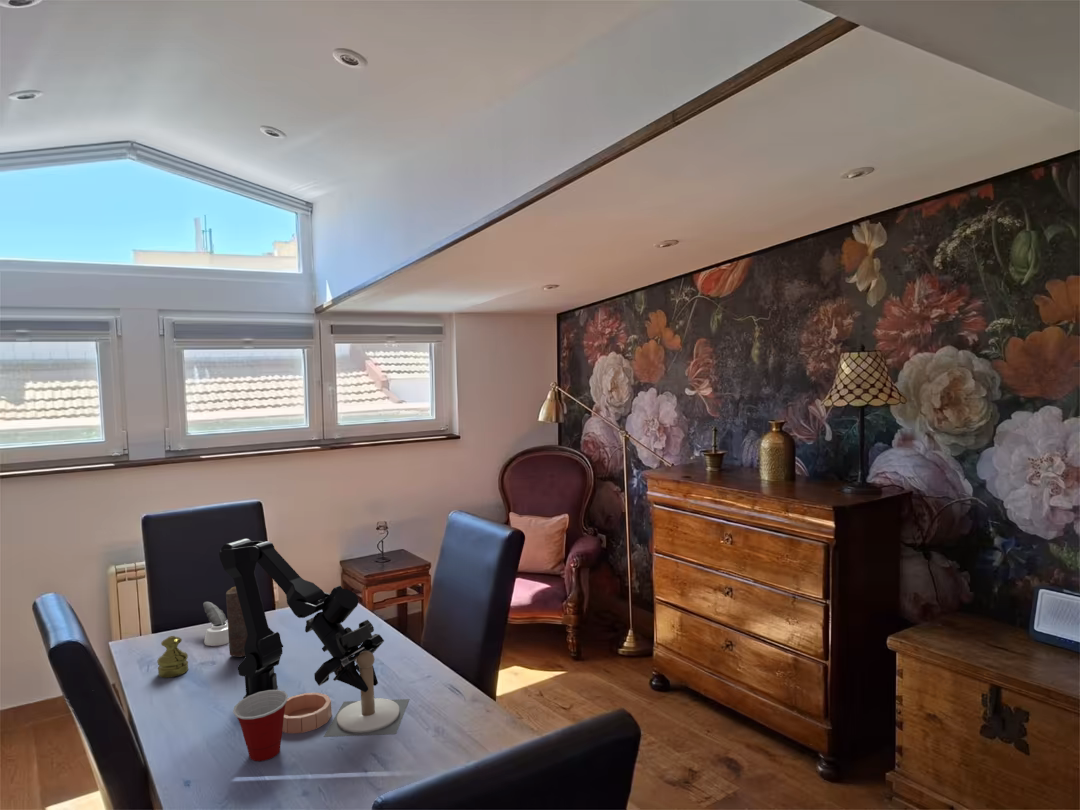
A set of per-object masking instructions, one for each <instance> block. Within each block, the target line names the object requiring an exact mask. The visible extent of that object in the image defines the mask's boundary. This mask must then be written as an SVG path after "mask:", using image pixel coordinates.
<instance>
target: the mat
mask: <svg viewBox="0 0 1080 810" xmlns="http://www.w3.org/2000/svg"><path fill="white" fill-rule="evenodd" d="M391 700H392V701H394V702H396V703H397V704H398V706H399V716H398V718H397V719H396V720H395V721H394V722H393V723H392V724H390V725H389V726H387V727H384V728H382V729H379V730H376V731H371V732H365V733H353V732H348V731H345V730H342V729H341V728H340V727H339V726H338V724H337V715H338V713H339V712H340V711H341V710H342V709H343V708H345V707H346V706H348V705H350V704H352V703H355V702H357V701H358V700H350V701H346V700H345V701H343V702H342V703H341V706H340V707H339V709H338V711H337V713H336V714H335V715H334V717H333V719H332V721H331V723H330V725H329V726H328V727H327V730H326V732H325V733H324V735H323V737H324V738H326V737H327V738H329V737H332V738H333V737H353V736H355V737H356V736H357V737H359V736H380V735H382V736H383V735H396V734H397V733H398V730H399V728H400V725H401V722H402V720H403V717H404V715H405V712H406V709H407V707H408V704H409V702H410V698H403V699H399V698H398V699H391Z"/></svg>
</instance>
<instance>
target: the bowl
mask: <svg viewBox="0 0 1080 810" xmlns="http://www.w3.org/2000/svg"><path fill="white" fill-rule="evenodd" d="M332 712H333V710H332V699H331V698H330V696H329V695H328V694H324V693H321V692H305V693H301V694H297V695H293V696H290V697H287V702H286V705H285V712H284V719H283V730H282V733H285V734H303V733H306V732H310V731H314V730H317V729H319V728H320V727H323V725H325V724H327V723H328V722H329V721H330V719H331V717H332V716H333V715H332V714H333V713H332Z"/></svg>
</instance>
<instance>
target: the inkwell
mask: <svg viewBox="0 0 1080 810" xmlns="http://www.w3.org/2000/svg"><path fill="white" fill-rule="evenodd" d="M202 605H203V606H202V607H203V609H204V612H205V613H206V618H208V620H207V621H208V622H210V623H211V626H209V627H208V628H207V629H206V632H205V635H204V640H203V644H204V645H206V646H208V647H218V646H224V645H226V644H227V645H228V644H229V635H228V618H227V617H226V614H225V613H224V611H223V610H222V609H220V608H219V606H217V605H216V604H214V603H213V602H210V601H204V602H203V604H202Z"/></svg>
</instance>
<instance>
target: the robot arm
mask: <svg viewBox="0 0 1080 810" xmlns="http://www.w3.org/2000/svg"><path fill="white" fill-rule="evenodd" d="M218 553H219V554H218V555H219V556H218V557H219V560H220V563H221V565H222V568H223V570H224V571H225V572H226V573H227V575H229V576H230V577H231V578H232V579H233V582H234V587H236V590H237V594H238V598H239V602H240V606H241V610H242V614H243V618H244V622H245V625H246V629H247V634H248V635H247V639H246V643H245V646H244V651H245V656H244V658H243V659H242V661H241V662H240V664H239V665H238V666H237V667H236V669H237V671H238V675H239V676H240V677H241V676H242V677H244V683H245V695H244V696H243V698H242V700H243V699H244V698H246V697H248V696H250V695H253V694H255V693H258V692H262V691H267V690H278V688H279V686H278V682H277V681H278V680H277V673H276V672H275V667H276V666H279V665H280V660H281V657H282V655H283V648H284V645H283V643H282V640H281V634H280V633H279V631H276V632H275V631H273V630H272V629H271V628H270V627H269V624H268V619H267V616H266V612H265V609H264V604H263V601H262V597H261V594H260V589H259V585H258V582H257V576H256V567H257V565H259V566H260V567H261V568H262V569H263V570H264V572H266V574H267V575H268V576H269V577H270V578H271V579H272V580H273V581H274V582H275V584H276V585H277V586H278V587H279V588H280V589H281V590H282V591H283V593H284V594H285V597H286V603H287V605H288V607H289V608H290V610H291V612H292V613H293V614H294V615H295V617H297V618H299V619H301V618H302V619H304V618H308V617H309V616H312V615H314V614H315V615H314V616H313V617H310V618H309V619H306V620H305V621H306V624H305V627H304V632H305V633H309V632H311V631H313V632H314V633H315V635H316V636H317V638H318V639H319V640H320V642H321V644H323V647H321V650H322V651H323V652H324V653H326V652H328V653H329V654H330V656H332V657H331V658H329V659H328V660H325V662H323V663H322V664H321V665H320V667H318V669H317V670H316V671H315V672H314V674H313V675H314V681H315V682H316V684H317V685H318V686H319V687H320V686H322V685H323V684H325V683H327V682H328V681H329V679H330V675H331V674H333V673H334V675H335V676H334V678H333V681H334V682H336V681H338V682H341V683H344V684H346V685H349V686H351V687H353V688H355V689H358V690H360V692H361V691H363V692H367V691H368V687H367V685H366V683H365V682H364V680H363V679H362V678H361V676H360V671H359V666H358V664H357V657H358V655H359V654H360V653H361V652H363V651H370V652H371V653H372V654H373V655H374V653H375V652H376V651H377V650H378V649H379V647H380V646H381V645H382V644H383V643H384V642H385V639H383V637H382V636H381V635H380V633H379V634H378V633H374V634H373V635H372V633H373V632H374V631H375V627H374V626H373V624H372V622H371V621H369V619H366V620H363V621H362V622H360V623H358V628H356V629H354V630H353V629H351V627H349V626H347V627H344V626H343V625H342V623H344V622H345V621H346V620H347V618H349V616H350V615H351V614H352V613H353V611H355V609H356V608H357V607H358V605H359V598H358V596H357V595H356V593H355V592H353V591H352V590H350V589H346V588H343V587H342V586H341V585H338V586H335V587H333V589H331V591H330V592H325V591H323V589H322V588H321V587H319V586H318V585H317V584H316V583H314V582H312V581H309V580H306V579H304V578H303V577H302V576H300V574H299V573H298V572H296V570H295V569H294V568H293V567H292V566H291V565H290V564H289V563H288V562H287V561H286V560H285V558H283V556H282V555H281V554H280V553H279V552H278V551H277V550H276V548H275V545H274V544H273V543H272V542H271V541H262V540H254V541H253V540H251V539H249V538H241V539H239V540H235V541H232V542H229V543H228V542H227V543H225V544H223V545H222V547H221V548H220V551H219V552H218ZM257 563H258V564H257ZM319 611H320V612H319ZM373 681H374V687H376V686H377V685H378V683H379V682H378V677H377V675H376V672H375V668H374V666H373Z"/></svg>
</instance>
